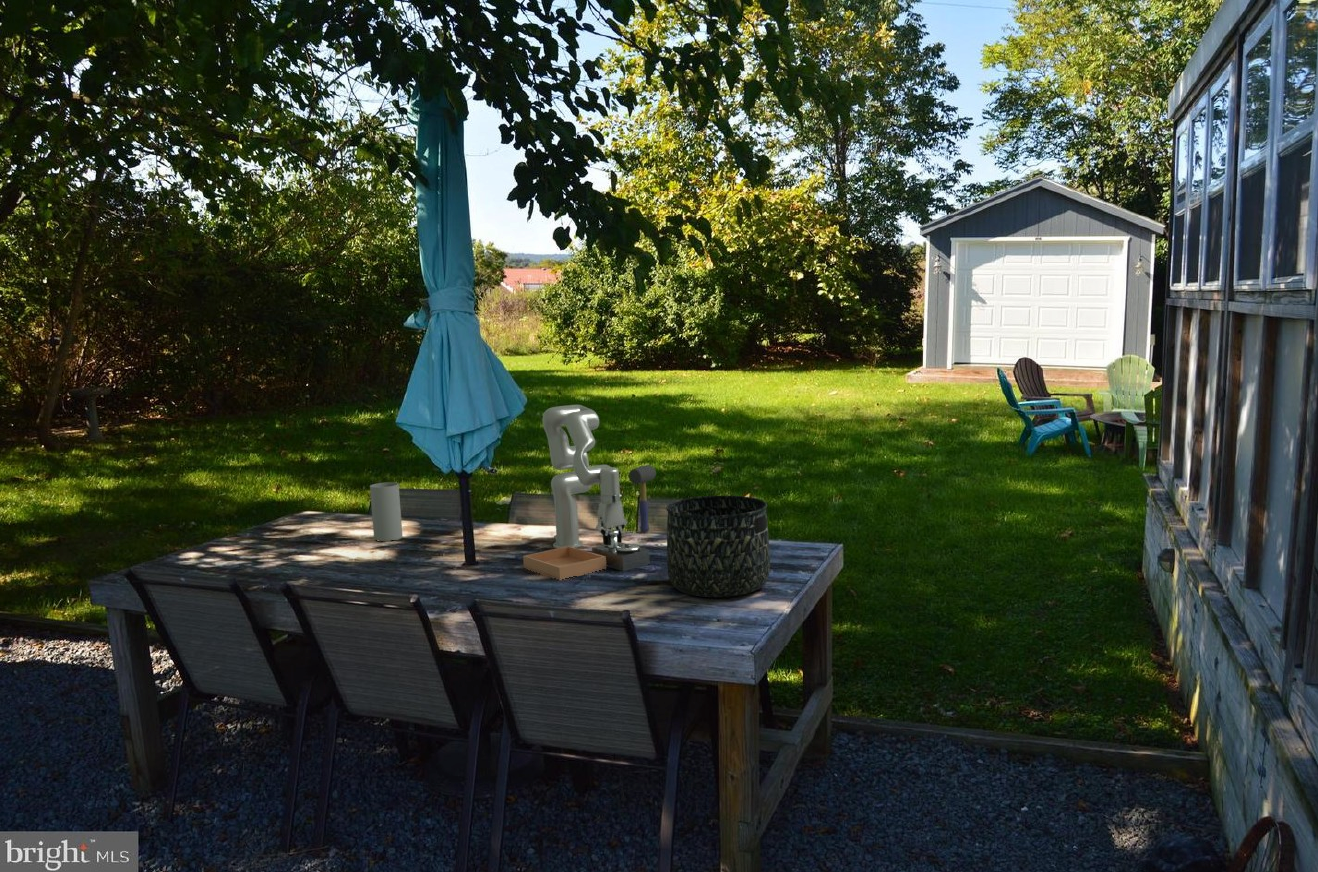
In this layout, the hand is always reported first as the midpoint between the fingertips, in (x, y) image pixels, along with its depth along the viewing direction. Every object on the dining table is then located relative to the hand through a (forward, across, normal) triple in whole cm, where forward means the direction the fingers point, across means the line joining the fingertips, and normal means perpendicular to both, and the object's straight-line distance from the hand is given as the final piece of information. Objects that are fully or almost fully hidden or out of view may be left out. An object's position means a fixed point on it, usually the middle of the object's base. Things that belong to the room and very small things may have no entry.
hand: (612, 542), depth 408 cm
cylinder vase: (+8, +46, -109) cm, 119 cm away
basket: (+8, -4, +58) cm, 59 cm away
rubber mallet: (+8, -40, -30) cm, 51 cm away
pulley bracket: (+7, 0, +5) cm, 9 cm away
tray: (+7, +20, -5) cm, 22 cm away
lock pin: (+7, 0, 0) cm, 7 cm away
